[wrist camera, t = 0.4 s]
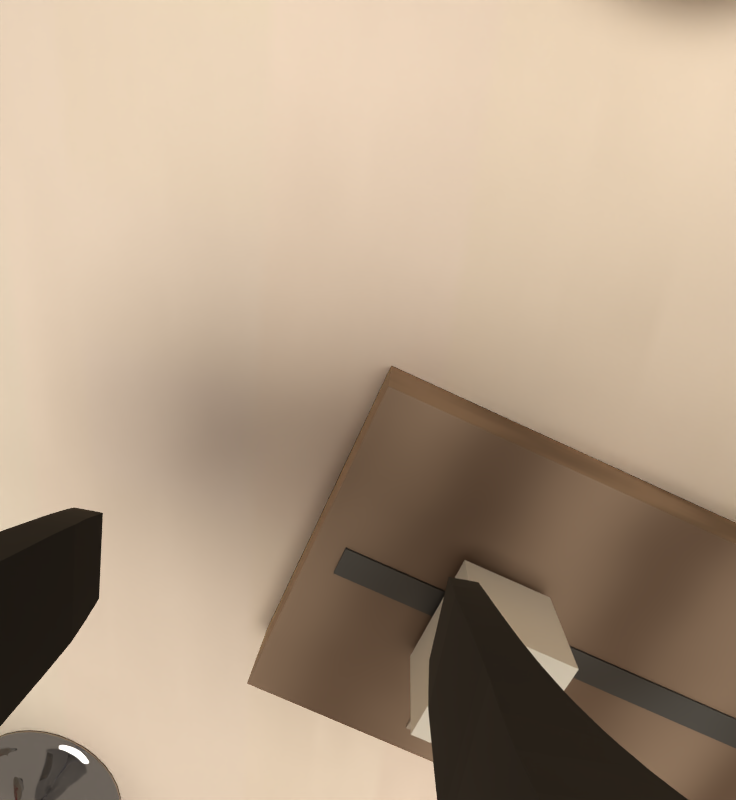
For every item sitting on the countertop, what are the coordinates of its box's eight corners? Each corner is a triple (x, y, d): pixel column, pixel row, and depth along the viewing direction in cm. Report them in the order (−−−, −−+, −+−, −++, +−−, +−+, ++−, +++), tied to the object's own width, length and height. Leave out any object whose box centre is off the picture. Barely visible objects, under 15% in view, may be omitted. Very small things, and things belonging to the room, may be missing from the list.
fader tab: (549, 597, 18) (579, 672, 15) (491, 690, 19) (507, 778, 16) (464, 559, 18) (476, 627, 15) (410, 655, 19) (410, 737, 16)
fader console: (934, 613, 21) (1021, 674, 18) (743, 832, 24) (791, 915, 21) (391, 365, 20) (388, 387, 17) (267, 628, 23) (246, 685, 20)
